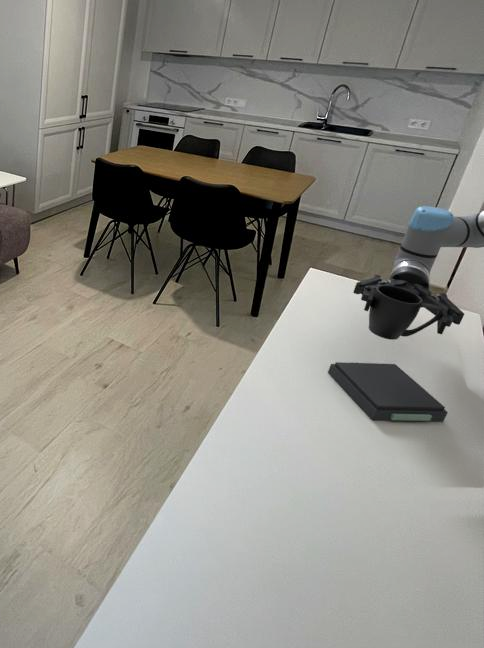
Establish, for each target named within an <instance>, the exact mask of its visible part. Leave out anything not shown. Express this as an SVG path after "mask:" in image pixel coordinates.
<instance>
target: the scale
mask: <svg viewBox="0 0 484 648" xmlns="http://www.w3.org/2000/svg"><path fill="white" fill-rule="evenodd" d="M327 373H328V374H329V375H330V377H331V378H333V380H334V381H335V382H336V383H337V384H338V385H339V386H340V387H341V389H343V391H344V392H345V393H346V394H347V395H348V396H349V397H350V398H351V399H352V400H353V401H354V402H355V404H356V405H357V406H359V408H360V409H361V410H362V411H363V412H364V413H365V415H367V416H368V418H369V419H371V420H372V421H393V422H395V421H396V422H397V421H398V422H403V421H404V422H442V423H443V422H445V419H446V417H447V415H448V413H449V412H448V411H447V410H446V406H444V405H443V404H442V403H441V402H439V401H438V400H437V399H436V398H435V397H434V396H433V395H432V394H430V393H429V392H428V391H427V390H426V389H425V388H423V386H422V385H420V384H419V383H418V382H416V381H415V380H414V379H413V378H412V377H411V376H410V375H408V374H407V373H406V372H405V370H403V369H402V368H401V367H399V365H397V364H396V363H378V362H376V363H373V362H342V361H341V362H338V361H337V362H335V363H330V365H329V367H328V370H327Z"/></svg>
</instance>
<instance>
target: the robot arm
mask: <svg viewBox="0 0 484 648" xmlns="http://www.w3.org/2000/svg"><path fill="white" fill-rule="evenodd" d="M441 248H472V249H473V248H474V249H480V248H484V210H483V211H479V212H476V213H473V214H470V215H467V216H454V214H453V213H452V212H451V211H449V210H447V209H445V208H441V207H436V206H428V205H423V206H419V207H416V209H415V210H414V213H413V214H412V216H411V218H410V220H409V221H408V226H407V228H406V231H405V233H404V236H403V239H402V242H401V245H400V246H399V248H398V251H397V253H396V256H395V257H394V258H393V261H392V265H391V266H392V269H391V271H390V272H391V273H390V276H389V279H387V280H385V279H383V278H382V276H381V275H379V274H374V276H373V277H369V278H366V279H363V280H361V281H357V282H356V283H355V286H354V288H353V291H352V293H353V294H355V295H361V298H360V301H363V302H366V303H365V306H364V309H363V311H365V312H369V311H370V305H371V302H372V300H373V296H374V293H375V290H376V288H377V287H378V286H380V285H390V286H396V287H400V288H403V289H406V290H409V291H411V292H413V293H415V294H417V295H418V296H420V297H421V298H422V300H423V303H425V304H432V305H436V306H439V307H441V308H442V309H443V314H442V316H441V318H440V319H439V320H437V321H436V322H437V323H436V327H437V328H436V333H437V334H438V335H443V333H444V331H445V329H446V327H447V328H450V327H451V325H452V324H455V325H458V326H459V325H460V324H461V323H462V320H463V318H464V316H465V312H463V311H462V309H460V308H459V307H458V306H457V305H456V304H455V303H454V302H453V301H451V299H449V298H448V295H447V294H446V293H444V292H440V293H438V294H434V293H432V291H431V290H430V281H431V279H430V278H431V276H430V275H431V271H432V268H433V266H434V263H435V261H436V259H437V257H438V254H439V252H440V250H441ZM423 308H424V309H425V310H426V311H428V312H430V313H431V314H433V315H434V317H435V316H436V315H437V313H438V311H439V310H437V309H434V308H425V307H423Z"/></svg>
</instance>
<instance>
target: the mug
mask: <svg viewBox="0 0 484 648" xmlns="http://www.w3.org/2000/svg"><path fill="white" fill-rule="evenodd" d="M424 307H425V308H424ZM421 308H424V309H426V308H434V309H437V310H439V311H438V313H437V315H436V316H435V315H434V316H433V317H432V318H431V319H429V320H428V321H426V322H424V323H423V324H421V325H419V326H417V327H414V328H412V329H408V328H410V326H411V325H412V324H413V322H414V321H415V319H416V318H417V317H418V314H419V312H420V310H421ZM368 312H369V313H368V330H369V331H370V333H372V334H373V335H376V336H377V337H380V338H382V339H385V340H393V341H395V340H399V338H400V337H404V338H405V337H406V338H407V337H410V336H413V335H416V334H417V333H419V332H420V331H423V330H424V329H427V327H429V326H431V325H433V324H435V323H436V322H437V320H439V319H440V318H441V316H442V314H443V309H442V308H441V307H439V306H436V305H432V304H425V303H423V300H422V298H421V297H420V296H418V295H417V294H415V293H413V292H411V291H409V290H406V289H403V288H400V287H396V286H390V285H380V286H378V287H377V288H376V290H375V293H374V296H373V300H372V302H371V305H370V308H369V310H368Z"/></svg>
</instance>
